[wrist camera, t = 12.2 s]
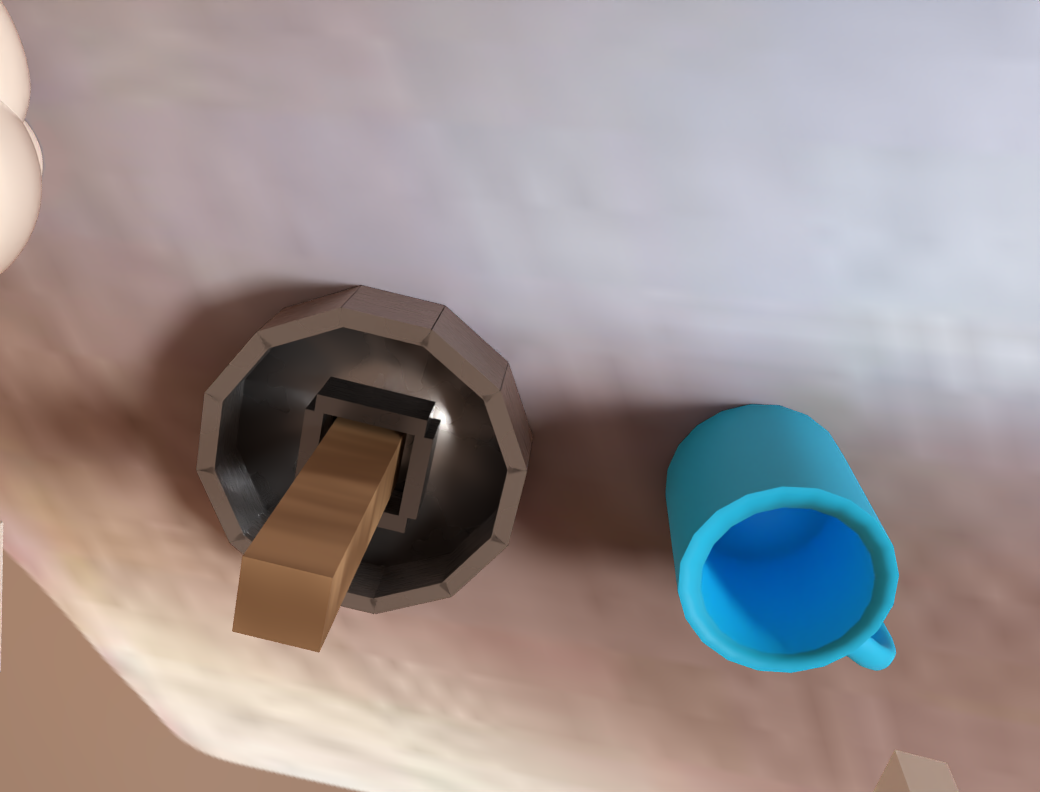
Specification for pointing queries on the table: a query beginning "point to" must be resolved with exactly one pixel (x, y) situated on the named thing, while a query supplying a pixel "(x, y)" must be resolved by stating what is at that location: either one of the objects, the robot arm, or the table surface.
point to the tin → (384, 403)
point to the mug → (778, 544)
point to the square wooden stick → (318, 536)
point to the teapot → (16, 148)
